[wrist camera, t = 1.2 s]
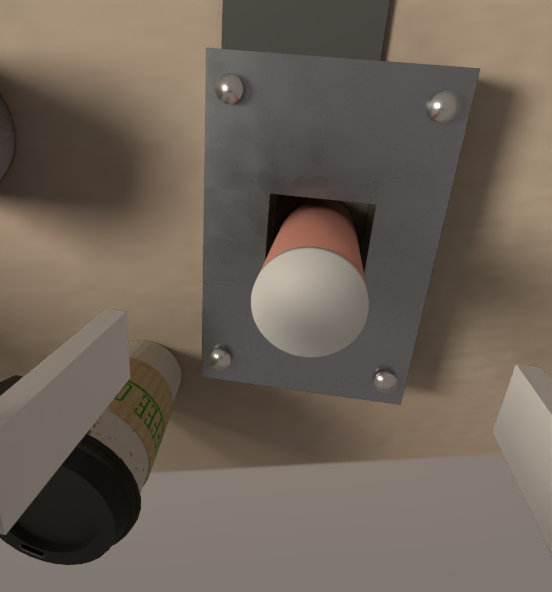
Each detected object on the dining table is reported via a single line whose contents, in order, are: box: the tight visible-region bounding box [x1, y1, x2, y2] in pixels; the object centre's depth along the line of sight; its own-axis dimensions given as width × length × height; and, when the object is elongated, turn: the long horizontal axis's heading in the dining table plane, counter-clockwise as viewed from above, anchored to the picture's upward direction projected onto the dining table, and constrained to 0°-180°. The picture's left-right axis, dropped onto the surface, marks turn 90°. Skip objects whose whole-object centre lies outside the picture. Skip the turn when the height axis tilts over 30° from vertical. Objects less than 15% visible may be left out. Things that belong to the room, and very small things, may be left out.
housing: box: [202, 48, 480, 405], centre depth 30 cm, size 15×22×5 cm
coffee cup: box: [0, 340, 182, 565], centre depth 32 cm, size 10×10×15 cm
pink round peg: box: [251, 198, 369, 357], centre depth 26 cm, size 5×5×13 cm
